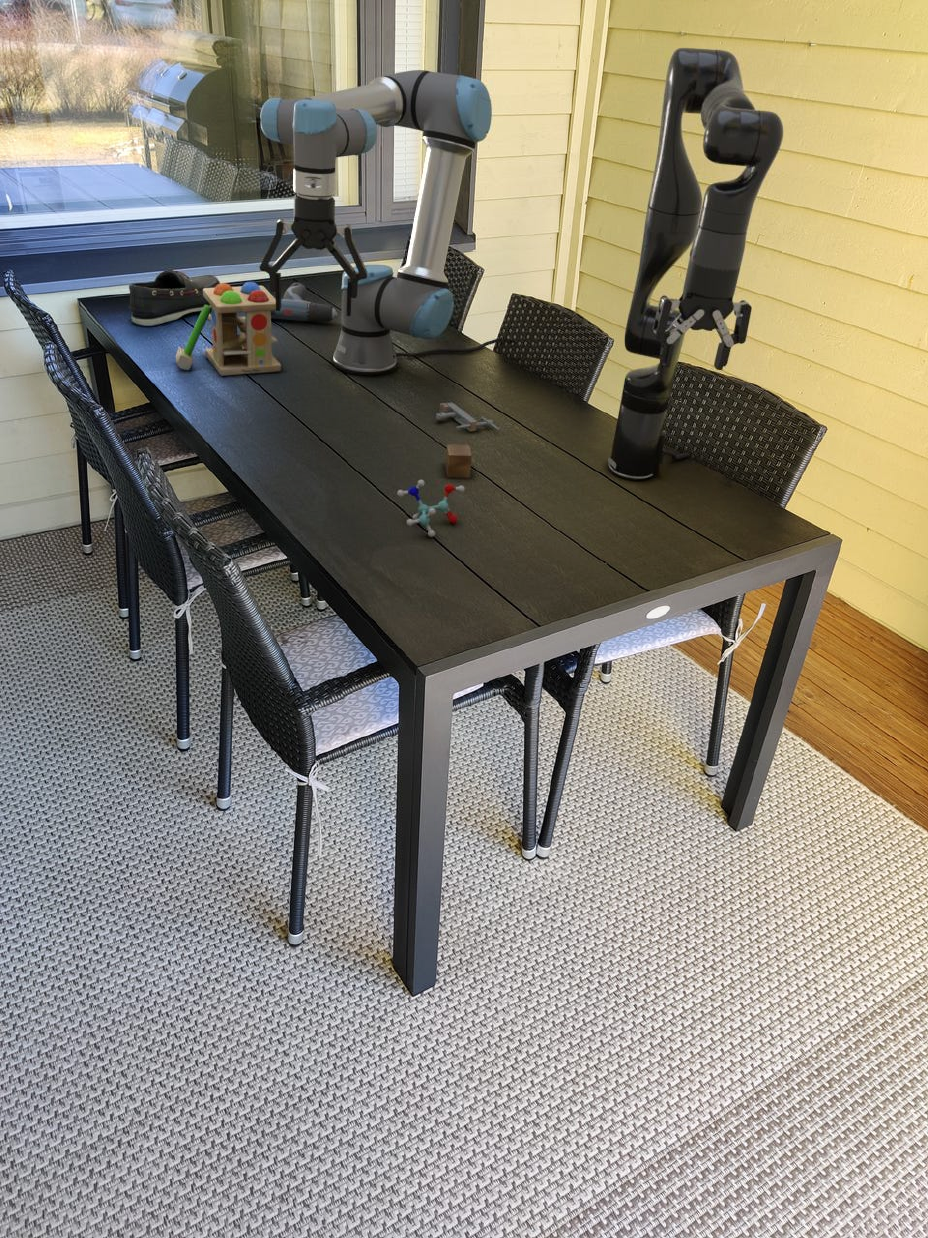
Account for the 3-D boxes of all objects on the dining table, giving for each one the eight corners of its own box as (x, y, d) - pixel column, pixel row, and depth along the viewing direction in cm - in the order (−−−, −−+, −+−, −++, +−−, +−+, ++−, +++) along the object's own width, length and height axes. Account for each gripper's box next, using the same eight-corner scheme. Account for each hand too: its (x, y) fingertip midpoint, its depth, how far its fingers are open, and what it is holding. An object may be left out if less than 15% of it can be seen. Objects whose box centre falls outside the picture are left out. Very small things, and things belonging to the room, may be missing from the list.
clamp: (428, 404, 215) (467, 399, 219) (427, 414, 216) (466, 408, 220) (462, 431, 204) (502, 425, 209) (461, 441, 205) (501, 434, 210)
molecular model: (455, 530, 166) (436, 473, 165) (406, 545, 170) (387, 490, 168) (476, 520, 177) (458, 467, 175) (430, 535, 180) (412, 483, 179)
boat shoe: (241, 304, 270) (238, 265, 264) (149, 328, 246) (144, 285, 240) (207, 295, 275) (204, 257, 270) (113, 318, 251) (108, 276, 246)
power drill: (344, 304, 276) (335, 327, 259) (277, 298, 275) (264, 321, 258) (344, 285, 273) (335, 306, 256) (277, 279, 272) (264, 300, 255)
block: (447, 477, 191) (449, 454, 189) (445, 466, 195) (446, 444, 193) (469, 477, 192) (471, 455, 189) (467, 466, 196) (469, 444, 193)
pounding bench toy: (183, 379, 220) (176, 299, 210) (169, 357, 231) (162, 280, 221) (282, 371, 230) (280, 294, 220) (264, 350, 240) (262, 276, 230)
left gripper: (242, 193, 175) (246, 312, 187) (382, 205, 178) (377, 322, 189) (248, 185, 182) (251, 300, 193) (383, 197, 184) (378, 310, 196)
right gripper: (675, 264, 140) (654, 373, 149) (770, 270, 142) (743, 377, 151) (662, 250, 146) (641, 356, 156) (752, 256, 148) (727, 360, 157)
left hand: (313, 311), depth 191 cm, fingers open, 13 cm apart
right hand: (691, 366), depth 153 cm, fingers open, 8 cm apart
